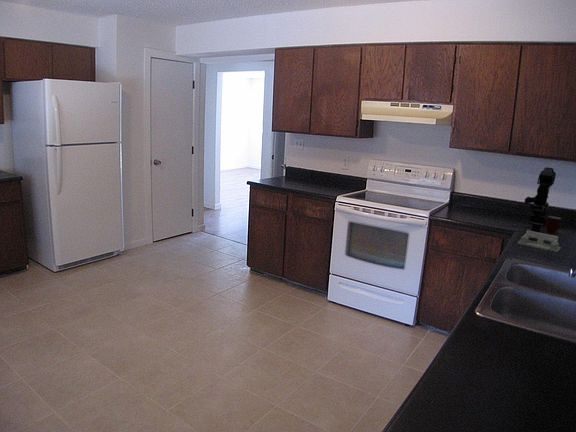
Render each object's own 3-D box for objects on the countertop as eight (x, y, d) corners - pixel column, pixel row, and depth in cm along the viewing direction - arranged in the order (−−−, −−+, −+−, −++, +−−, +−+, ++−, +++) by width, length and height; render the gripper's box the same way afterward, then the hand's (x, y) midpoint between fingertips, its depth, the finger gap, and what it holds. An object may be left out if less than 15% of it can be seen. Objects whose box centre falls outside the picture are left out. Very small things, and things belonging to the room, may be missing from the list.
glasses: (526, 234, 269) (528, 229, 268) (557, 241, 260) (559, 236, 259) (523, 237, 262) (524, 232, 262) (555, 244, 253) (556, 239, 252)
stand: (522, 240, 272) (523, 233, 271) (560, 248, 260) (562, 242, 259) (517, 243, 264) (519, 236, 263) (557, 252, 252) (558, 245, 251)
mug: (541, 229, 306) (544, 214, 304) (554, 231, 304) (558, 216, 302) (546, 233, 296) (549, 217, 294) (559, 235, 294) (563, 219, 292)
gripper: (530, 190, 282) (525, 215, 285) (523, 192, 267) (518, 219, 271) (551, 193, 275) (545, 218, 279) (545, 196, 261) (539, 223, 264)
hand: (536, 219), depth 273 cm, fingers open, 9 cm apart
